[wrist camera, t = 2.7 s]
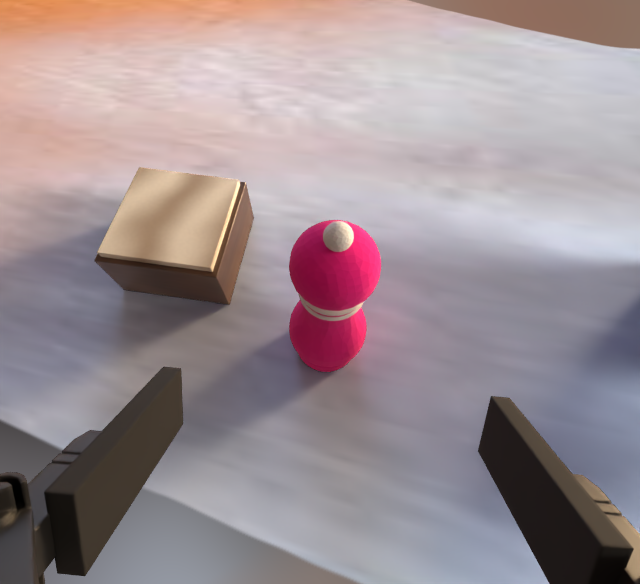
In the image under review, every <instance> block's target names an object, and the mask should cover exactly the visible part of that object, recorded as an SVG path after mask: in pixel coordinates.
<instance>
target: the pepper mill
mask: <svg viewBox="0 0 640 584" xmlns="http://www.w3.org/2000/svg"><path fill="white" fill-rule="evenodd" d="M289 270H290V276H291V280H292V282H293V284H294V287H295V289H296V291H297V292H298V293H299V297H300V301H299V302H298V303H297V305H296V306H295V308H294V310H293V312H292V314H291V318H290V325H289V333H290V339H291V342H292V344H293V346H294V348H295V349H296V351H297V352H298V354H299V356H300V358H301V359H302V361H303V362H304V363H305V364H306V365H308V366H309V367H311V368H312V369H314V370H318V371H321V372H331V371H335V370H338V369H340V368H342V367H344V366H345V365H346V364H347V363H348V362H349V361H350V360H351V359H352V358H353V357H354V356H355V355H356V354H357V353H358V352H359V351H360V349H361V348H362V345H363V343H364V340H365V336H366V319H365V316H364V313H363V311H362V309H361V306H362V304H363V302H364V301H365V300H366V299H367V298H368V297H369V296H370V295H371V294H372V292H373V291H374V289H375V287H376V285H377V283H378V280H379V277H380V270H381V259H380V253H379V251H378V248H377V246H376V244H375V242H374V240H373V239H372V238H371V237H370V235H369V234H368V233H367V232H366V231H365V230H363V229H362V228H360V227H359V226H357V225H355V224H352V223H350V222H346V221H341V220H329V221H324V222H321V223H318V224H316V225H314V226H312V227H310V228H308V229H307V230H306V231H305V232H303V233H302V234H301V236H300V237H299V238H298V240H297V241H296V243H295V244H294V246H293V249H292V251H291V256H290V263H289Z"/></svg>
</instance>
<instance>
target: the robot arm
mask: <svg viewBox="0 0 640 584" xmlns="http://www.w3.org/2000/svg"><path fill="white" fill-rule="evenodd" d="M182 425H183V407H182V377H181V368H171V367H163V368H162V369H161V370H160V371H159V372H158V373H157V374H156V375H155V376H154V377H153V378H152V379H151V380H150V381H149V382H148V383H147V385H146V386H145V387H144V388H143V389H142V390H141V391H140V392H139V393H138V394H137V395H136V396H135V397H134V398H133V399H132V400H131V401H130V402H129V403H128V404H127V405H126V406H125V408H124V409H123V410H122V411H121V412H120V413H119V414H118V415H117V416H116V417H115V418H114V419H113V420H112V421H111V422H110V423H109V424H108V425H107V426H106V427H105V428H104V429H103V431H94V430H90V431H88V432H86V433H84V434H83V435H81V436H79V437H78V438H76V439H74V440H73V441H72V442H71V443H70V444H69V445H68V446H67V447H66V448H65V449H64V450H63V451H62V453H60V454H59V455H58V456H56V457H55V458H54V459H53V460H52V463H50V464H48V465H47V466H46V467H45V468H44V469H43V470H42V471H41V472H40V473H39V474H38V475H37V476H36V477H35V478H34V479H33V480H32V481H31V482H30V483H29V484H28V485H27V480H26V478H25V476H24V475H22V474H20V473H17V472H16V473H15V472H14V473H13V472H12V473H11V472H6V473H2V474H0V584H45V578H44V573H43V572H44V571H45V569H46V568H47V567H48V566H49V564H50V563H51V562H52V560H53V559H54V558H55V561H56V568H57V573H59V574H69V575H79V576H85V575H86V574H87V572H88V571H89V569H90V568H91V566H92V565H93V563H94V562H95V560H96V558H97V557H98V555H99V554H100V552H101V550H102V549H103V547H104V546H105V544H106V543H107V541H108V540H109V538H110V536H111V535H112V534H113V532H114V530H115V529H116V527H117V526H118V524H119V523H120V521H121V520H122V518H123V516H124V515H125V513H126V512H127V510H128V509H129V507H130V506H131V504H132V502H133V501H134V499H135V498H136V496H137V495H138V493H139V491H140V490H141V488H142V487H143V485H144V484H145V482H146V481H147V479H148V478H149V476H150V474H151V473H152V471H153V470H154V468H155V467H156V465H157V464H158V462H159V460H160V459H161V457H162V456H163V454H164V453H165V451H166V450H167V448H168V446H169V445H170V443H171V442H172V440H173V439H174V437H175V436H176V434H177V432H178V431H179V429H180V428H181V426H182ZM478 452H479V454H480V456H481V458H482V459H483V461H484V463H485V465H486V467H487V469H488V471H489V472H490V474H491V476H492V478H493V480H494V482H495V484H496V485H497V487H498V489H499V491H500V493H501V495H502V496H503V498H504V500H505V502H506V504H507V506H508V508H509V509H510V511H511V513H512V515H513V517H514V519H515V521H516V522H517V524H518V526H519V528H520V530H521V532H522V534H523V535H524V537H525V539H526V541H527V543H528V545H529V546H530V548H531V550H532V552H533V554H534V556H535V558H536V559H537V561H538V563H539V565H540V567H541V569H542V571H543V572H544V574H545V576H546V578H547V580H548V582H549V583H550V584H640V534H639V533H638V532H637V531H636V529H635V528H634V527H633V526H632V525H631V524H630V523H629V521H628V520H627V519H626V518H625V517H624V516H622V513H621V512H620V511H619V510H618V509H617V508H616V507H615V505H613V504H611V501H610V500H609V499H608V497H607V496H606V495H605V494H604V493H603V492H602V491H601V489H600V488H599V487H597V486H596V485H595V484H593V483H592V482H591V481H589V480H588V479H587V478H585V477H584V476H583V475H578V474H572V473H571V472H570V471H569V469H568V468H567V467H566V466H565V465H564V463H563V462H562V461H561V460H560V459H559V457H558V456H557V455H556V454H555V452H554V451H553V450H552V449H551V448H550V446H549V445H548V444H547V443H546V442H545V440H544V439H543V438H542V437H541V436H540V434H539V433H538V432H537V431H536V429H535V428H534V427H533V426H532V425H531V423H530V422H529V421H528V420H527V419H526V417H525V416H524V415H523V414H522V413H521V411H520V410H519V409H518V408H517V406H516V405H515V404H514V403H513V402H512V400H511V399H510V398H506V397H495V396H491V398H490V403H489V407H488V411H487V415H486V419H485V424H484V428H483V432H482V436H481V441H480V445H479V449H478Z"/></svg>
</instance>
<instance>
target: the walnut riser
mask: <svg viewBox="0 0 640 584" xmlns="http://www.w3.org/2000/svg"><path fill="white" fill-rule="evenodd" d="M253 219H254V217H253V212H252V208H251V203H250V199H249V194H248V190H247V185H246V182H239V180H236V179H228V178H220V177H212V176H205V175H197V174H189V173H181V172H173V171H165V170H157V169H149V168H141V167H139V169H138V171H137V173H136V175H135V177H134V179H133V181H132V183H131V185H130V187H129V189H128V191H127V193H126V195H125V197H124V199H123V201H122V203H121V205H120V207H119V209H118V211H117V213H116V215H115V217H114V219H113V221H112V223H111V225H110V227H109V229H108V231H107V233H106V235H105V237H104V239H103V241H102V243H101V245H100V247H99V249H98V251H97V253H98V254H97V256H96V258H95V262H96V263H97V264H98V265H99V266H100V267H101V268H102V269H103V270H104V271H105V272H106V273H107V274H108V275H109V276H110V277H111V278H112V279H114V280H115V281H116V282H117V283H118V284H119V285H120V286H121V287H122V288H123V289H124V290H130V291H137V292H144V293H151V294H158V295H165V296H172V297H179V298H186V299H193V300H200V301H208V302H215V303H222V304H230V301H231V297H232V294H233V290H234V287H235V283H236V280H237V276H238V272H239V269H240V265H241V262H242V258H243V255H244V251H245V247H246V244H247V240H248V237H249V233H250V230H251V226H252V222H253Z"/></svg>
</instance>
